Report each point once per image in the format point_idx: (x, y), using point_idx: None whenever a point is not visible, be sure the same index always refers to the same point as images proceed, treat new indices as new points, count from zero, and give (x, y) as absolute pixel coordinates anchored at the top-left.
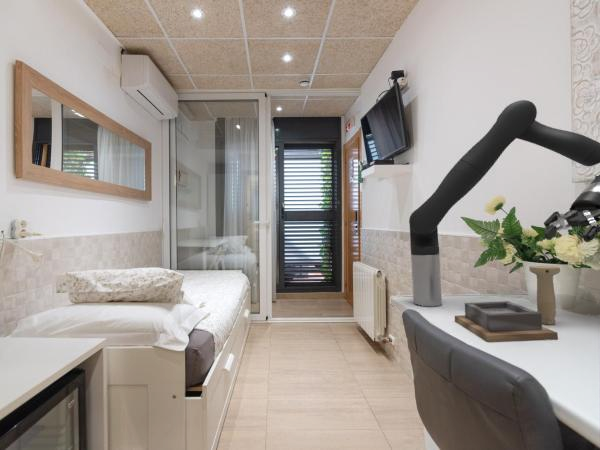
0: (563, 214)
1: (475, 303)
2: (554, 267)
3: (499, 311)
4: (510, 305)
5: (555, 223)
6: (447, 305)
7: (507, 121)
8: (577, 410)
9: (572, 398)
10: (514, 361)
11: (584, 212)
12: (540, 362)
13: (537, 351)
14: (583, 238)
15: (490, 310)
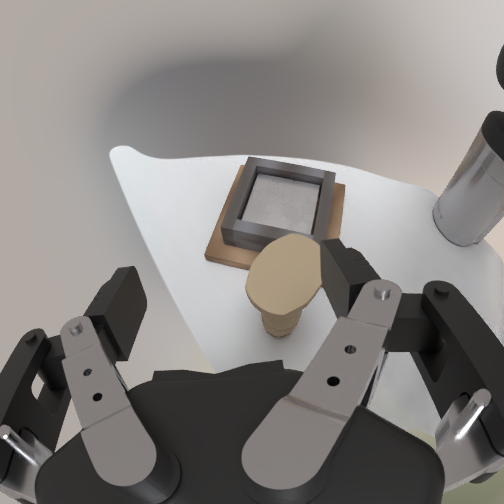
0: (460, 470)
1: (327, 184)
2: (260, 285)
3: (288, 206)
4: (298, 233)
5: (364, 301)
6: (441, 245)
7: None
8: (115, 147)
9: (122, 155)
10: (184, 160)
11: (130, 437)
12: (169, 179)
13: (189, 198)
14: (138, 278)
15: (300, 198)
